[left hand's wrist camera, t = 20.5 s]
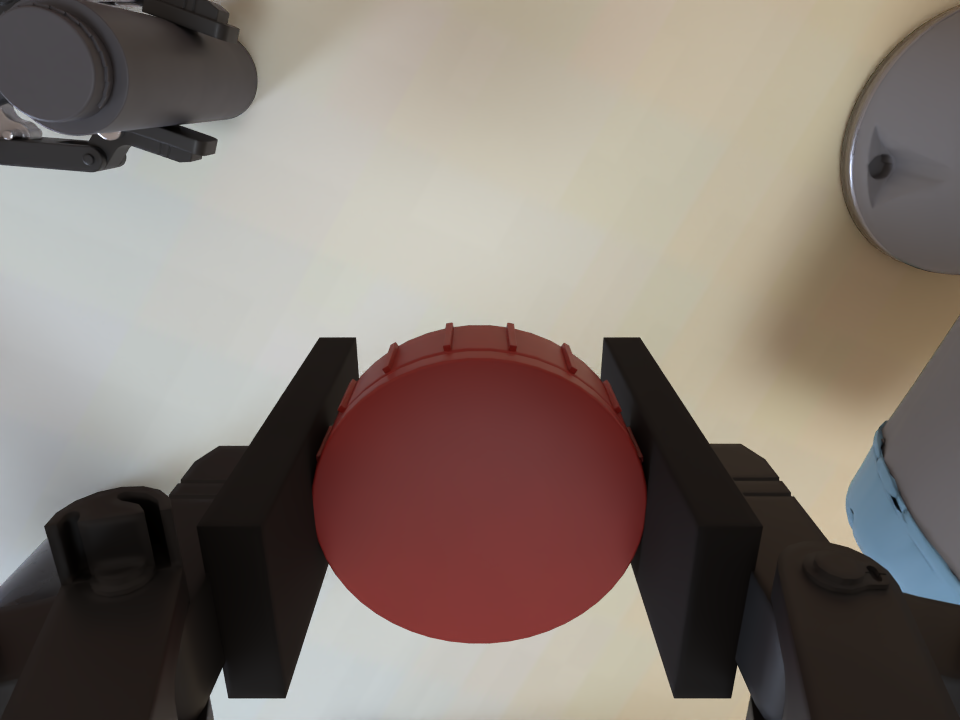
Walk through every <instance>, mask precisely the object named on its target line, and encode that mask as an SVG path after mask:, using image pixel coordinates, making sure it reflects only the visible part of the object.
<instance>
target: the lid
mask: <svg viewBox="0 0 960 720" xmlns="http://www.w3.org/2000/svg"><path fill="white" fill-rule="evenodd" d="M338 411H339V413H338V415H337V417H336V420H335V422H334V424H333V426H329V428H328V431H327V433H326V435H325V437H324V439H323V442H322V444H321V446H320V448H319V451H318V453H317V455H316V459H317V465H316V469H315V474H314V479H313V484H312V497H313V507H314V517H315V526H316V534H317V538H318V542H319V544H320V546H321V549H322V551H323V553H324V556H325V558H326V560H327V561H328V563H329V565H330V566H331V568H332V570H333V571H334V573H335V574H336V576H337V577H338V578H339V579H340V581H341V582H342V583H343V584H344V586H345V587H346V588H347V589H348V590H349V591H350V592H351V593H352V594H353V595H354V596H355V597H356V598H357V599H358V600H359V601H360V602H361V603H363V604H364V605H365V606H367V607H368V608H370V609H371V610H372V611H374V612H375V613H376V614H378V615H380V616H381V617H383V618H385V619H386V620H388V621H390V622H392V623H393V624H396V625H398V626H400V627H402V628H405V629H407V630H409V631H412V632H415V633H418V634H421V635H424V636H427V637H431V638H436V639H441V640H445V641H451V642H461V643H498V642H508V641H514V640H518V639H523V638H528V637H531V636H535V635H538V634H541V633H544V632H547V631H550V630H552V629H554V628H556V627H559V626H561V625H563V624H565V623H567V622H569V621H571V620H572V619H574V618H576V617H578V616H579V615H581V614H583V613H584V612H585V611H587V610H588V609H589V608H591V607H592V606H593V605H595V604H596V603H597V602H599V601H600V600H601V599H602V598H603V597H604V596H605V595H606V594H607V593H608V592H609V591H610V590H611V589H612V588H613V587H614V585H615V584H616V583H617V582H618V580H619V579H620V578H621V577H622V576H623V574H624V573H625V571H626V569H627V568H628V566H629V564H630V563H631V561H632V559H633V558H634V555H635V553H636V551H637V548H638V546H639V544H640V541H641V538H642V534H643V529H644V521H645V512H646V502H647V485H646V480H645V475H644V470H643V466H642V463H643V455H642V453H641V451H640V449H639V446H638V444H637V442H636V440H635V437H634V435H633V433H632V431H631V428H630V427H626V424H625V422H624V420H623V418H622V415H621V413H620V412H622V410H621V407H620V405H619V403H618V401H617V398H616V396H615V394H614V392H613V389H612V387H611V385H610V383H609V382H608V380H605V381H604V382H602V381H601V380H600V378H599V377H598V376H597V375H596V374H595V373H594V372H593V371H592V370H591V369H590V368H589V367H588V366H587V365H586V364H585V363H584V362H583V361H581V360H580V359H579V358H577V357H576V356H575V355H573V354H572V352H571V349H570V347H569V345H567V344H566V343H563V345H562V346H559V345H557V344H555V343H554V342H552V341H550V340H547V339H545V338H542V337H540V336H537V335H535V334H532V333H529V332H525V331H521V330H517V329H514V324H512V323H507V327H499V326H491V325H468V326H460V327H453V323H447V324H446V329H442V330H438V331H434V332H430V333H427V334H424V335H422V336H419V337H417V338H414V339H412V340H409V341H407V342H405V343H404V344H402V345H400V346H398V345H397V343H396V342H395V343H393V344H392V345H390V348H389V351H388V353H387V354H386V355H384V356H383V357H382V358H380V359H379V360H378V361H376V362H375V363H374V364H373V365H372V366H371V367H370V368H369V369H368V370H367V371H366V372H365V373H364V374H363V375H362V376H361V377H360V378H359V380H358V381H355V380H354V379H352V380H351V382H350V383H349V385H348V387H347V390H346V392H345V394H344V396H343V399H342V401H341V403H340V405H339V407H338Z"/></svg>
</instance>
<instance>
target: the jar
mask: <svg viewBox="0 0 960 720" xmlns="http://www.w3.org/2000/svg"><path fill="white" fill-rule="evenodd" d="M256 89H257V73H256V69H255V65H254V63H253V60H252V58H251V56H250V55H249V53H248V52H247V50H246V49H245V48H244V47H243V45H242V44H241V43H239V42H238V41H237V44H235V43H230V42H226V41H222V40H219V39H216V38H213V37H211V36H208V35H205V34H203V33H200V32H197V31H194V30H192V29H189V28H186V27H183V26H181V25H178V24H175V23H172V22H170V21H167V20H165V19H162V18H159V17H155V16H150V15H146V14H142V13H138V12H133V11H129V10H125V9H120V8H116V7H112V6H107V5H103V4H99V3H94V2H90V1H86V0H20V1H19V2H17V3H16V4H15V5H13V6H12V7H11V8H10V9H9V10H7V11H4V12H3V13H2V14H1V15H0V92H1V94H2V95H3V96H4V97H5V98H6V100H7V101H8V102H9V103H11V104H12V105H13V106H14V107H15V108H17V109H18V110H19V111H21V112H22V113H24V114H26V115H28V116H29V117H30V118H31V119H33V120H34V121H35V122H37V123H38V124H40V125H42V126H43V127H45V128H48V129H50V130H52V131H55V132H58V133H61V134H66V135H73V136H82V135H92V134H101V133H110V132H119V131H128V130H137V129H146V128H155V127H163V126H172V125H181V124H190V123H199V122H208V121H217V120H226V119H231V118H234V117H237V116H238V115H240V114H242V113H243V112H244V111H245V110H246V109H247V108H248V107H249V106H250V104H251V103H252V101H253V99H254V97H255V94H256Z"/></svg>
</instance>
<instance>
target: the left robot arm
mask: <svg viewBox="0 0 960 720" xmlns="http://www.w3.org/2000/svg"><path fill="white" fill-rule="evenodd" d="M841 182H842V189H843V194H844V198H845V202H846V205H847V207H848V210H849V213H850V215H851V217H852V219H853V221H854V223H855V224H856V226H857V227H858V229H859V230H860V232H861V233H862V234H863V235H864V236H865V238H866V239H867V240H868V241H869V242H870V243H871V244H872V245H874V246H875V247H876V248H877V249H879V250H880V251H881V252H883V253H884V254H886V255H888V256H890V257H891V258H893V259H896V260H898V261H900V262H903V263H905V264H908V265H910V266H913V267H915V268H918V269H922V270H925V271H930V272H936V273H943V274H951V275H960V5H959V6H957V7H954V8H952V9H950V10H948V11H946V12H943V13H941V14H940V15H938V16H936V17H934V18H933V19H931V20H929V21H928V22H926V23H925V24H923V25H922V26H920V27H919V28H917V29H916V30H915V31H914V32H912V33H911V34H910V35H909V36H907V37H906V38H905V39H904V40H903V41H902V42H901V43H899V44H898V45H897V46H896V47H895V48H894V49H893V50H892V51H891V52H890V53H889V55H888V56H887V57H886V58H885V59H884V60H883V61H882V63H881V64H880V65H879V66H878V68H877V69H876V70H875V72H874V73H873V74H872V76H871V77H870V79H869V80H868V82H867V84H866V85H865V87H864V89H863V90H862V92H861V94H860V96H859V98H858V100H857V102H856V104H855V106H854V109H853V111H852V113H851V116H850V119H849V122H848V125H847V128H846V132H845V136H844V140H843V146H842V153H841ZM352 379H354V380H355V381H358V380H359V373H358V359H357V345H356V338H319V339H318V341H317V342H316V344H315V345H314V347H313V348H312V350H311V352H310V353H309V355H308V356H307V358H306V359H305V361H304V362H303V364H302V365H301V367H300V368H299V370H298V371H297V373H296V375H295V376H294V378H293V379H292V381H291V382H290V384H289V385H288V387H287V388H286V390H285V391H284V393H283V394H282V396H281V397H280V399H279V401H278V402H277V404H276V405H275V407H274V408H273V410H272V411H271V413H270V414H269V416H268V417H267V419H266V420H265V422H264V424H263V425H262V427H261V428H260V430H259V431H258V433H257V434H256V436H255V437H254V439H253V440H252V442H251V443H250V445H249V446H218V447H217V448H215V449H214V450H212V451H211V452H209V453H207V454H206V455H204V456H203V457H201V458H200V459H198V460H197V461H195V462H194V463H193V465H192V466H191V467H190V469H189V470H188V471H187V472H186V474H185V475H184V476H183V478H182V479H181V483H178V484H177V485H176V487H175V488H174V489H173V491H172V492H171V493H170V494H169V497H168V496H167V495H166V494H164V493H163V492H162V491H161V490H158V489H153V488H149V487H144V486H137V487H119V488H115V489H110V490H106V491H101V492H97V493H95V494H92V495H89V496H87V497H84V498H82V499H79V500H77V501H75V502H73V503H71V504H70V505H68V506H67V507H65V508H63V509H62V510H60V511H59V512H57V513H56V514H55V515H54V516H53V517H52V518H51V519H50V521H49V522H48V523H47V524H46V525H45V526H44V527H45V531H46V534H47V538H48V541H49V545H50V548H51V552H52V555H53V559H54V562H55V566H56V569H57V573H58V576H59V580H60V583H61V587H60V589H59V592H58V594H57V595H56V596H52V597H48V598H45V599H41V600H36V601H31V602H26V603H22V604H17V605H12V606H7V607H2V608H0V720H214V718H213V711H212V706H211V701H210V694H211V692H212V690H213V687H214V685H215V683H216V681H217V679H218V676H219V674H220V672H221V670H222V667H223V672H224V677H225V683H226V688H227V693H228V698H286V695H287V692H288V689H289V686H290V683H291V680H292V676H293V673H294V670H295V667H296V664H297V661H298V658H299V655H300V651H301V648H302V645H303V642H304V639H305V636H306V633H307V630H308V626H309V623H310V620H311V617H312V614H313V611H314V608H315V605H316V601H317V598H318V595H319V592H320V589H321V586H322V583H323V580H324V577H325V573H326V570H327V567H328V564H329V563H328V561H327V560H326V558H325V556H324V553H323V551H322V549H321V546H320V544H319V542H318V538H317V534H316V526H315V517H314V507H313V497H312V484H313V479H314V474H315V469H316V465H317V459H316V455H317V453H318V451H319V448H320V446H321V444H322V442H323V439H324V437H325V435H326V433H327V431H328V428H329V426H333V424H334V422H335V420H336V417H337V415H338V413H339V411H338V407H339V405H340V403H341V401H342V399H343V396H344V394H345V392H346V390H347V387H348V385H349V383H350V382H351V380H352ZM605 380H608V382H609V383H610V385H611V387H612V389H613V392H614V394H615V396H616V398H617V401H618V403H619V405H620V407H621V410H622V412H620V413H621V415H622V418H623V420H624V422H625V424H626V427H630V428H631V431H632V433H633V435H634V437H635V440H636V442H637V444H638V446H639V449H640V451H641V453H642V455H643V463H642V466H643V470H644V475H645V480H646V485H647V502H646V512H645V521H644V529H643V534H642V538H641V541H640V544H639V546H638V548H637V551H636V553H635V555H634V558H633V559H632V561H631V565H632V568H633V572H634V575H635V578H636V581H637V584H638V587H639V590H640V593H641V597H642V600H643V603H644V606H645V609H646V612H647V615H648V618H649V621H650V625H651V628H652V631H653V634H654V637H655V640H656V643H657V646H658V650H659V653H660V656H661V659H662V662H663V665H664V668H665V671H666V675H667V678H668V681H669V684H670V687H671V690H672V693H673V696H674V698H731V696H732V691H733V686H734V680H735V675H736V670H737V665H738V667H739V669H740V672H741V674H742V676H743V678H744V680H745V683H746V685H747V687H748V689H749V692H750V694H751V696H750V701H749V706H748V711H747V716H746V720H960V316H959V317H958V319H957V320H956V322H955V323H954V325H953V326H952V328H951V329H950V331H949V332H948V334H947V335H946V337H945V338H944V340H943V341H942V343H941V344H940V346H939V347H938V349H937V350H936V352H935V353H934V355H933V356H932V358H931V359H930V361H929V362H928V364H927V365H926V366H925V368H924V369H923V371H922V372H921V374H920V375H919V377H918V378H917V380H916V381H915V383H914V384H913V386H912V387H911V389H910V390H909V392H908V393H907V394H906V396H905V397H904V399H903V400H902V402H901V403H900V404H899V406H898V407H897V409H896V410H895V412H894V413H893V414H892V416H891V417H890V419H889V420H888V421H885V422H884V423H883V424H882V425H881V426H880V427H879V429H878V430H877V431H876V433H875V436H874V441H873V446H872V447H871V449H870V451H869V453H868V455H867V456H866V458H865V460H864V462H863V463H862V465H861V467H860V468H859V470H858V472H857V473H856V475H855V477H854V478H853V480H852V482H851V484H850V486H849V488H848V492H847V496H846V512H847V516H848V521H849V524H850V526H851V528H852V530H853V535H854V538H855V540H856V542H857V544H858V546H859V548H860V549H861V551H862V553H863V554H862V553H860V552H857V551H855V550H853V549H851V548H849V547H845V546H841V545H837V544H833V543H830V542H829V541H828V540H827V538H826V537H825V536H824V535H823V533H822V532H821V531H820V529H819V528H818V527H817V526H816V524H815V523H814V522H813V520H812V519H811V518H810V517H809V515H808V514H807V513H806V511H805V510H804V509H803V507H802V506H801V505H800V504H799V502H798V501H797V500H796V498H795V497H794V496H791V492H790V491H789V489H788V488H787V487H786V486H785V484H784V483H783V482H782V481H779V477H778V475H777V474H776V473H775V471H774V470H773V469H772V468H771V466H770V465H769V464H768V462H767V461H766V460H765V459H764V458H762V457H761V456H759V455H757V454H756V453H754V452H753V451H751V450H750V449H748V448H747V447H745V446H743V445H742V444H709V443H708V441H707V440H706V438H705V436H704V435H703V433H702V432H701V430H700V429H699V427H698V426H697V424H696V423H695V421H694V420H693V418H692V417H691V415H690V413H689V412H688V410H687V409H686V407H685V406H684V404H683V403H682V401H681V400H680V398H679V397H678V395H677V394H676V392H675V391H674V389H673V387H672V386H671V384H670V383H669V381H668V380H667V378H666V377H665V375H664V374H663V372H662V371H661V369H660V368H659V366H658V364H657V363H656V361H655V360H654V358H653V357H652V355H651V354H650V352H649V351H648V349H647V348H646V346H645V345H644V343H643V341H642V340H641V338H604V339H603V353H602V367H601V381H602V382H604V381H605Z"/></svg>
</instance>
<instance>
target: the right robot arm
mask: <svg viewBox="0 0 960 720" xmlns="http://www.w3.org/2000/svg"><path fill="white" fill-rule="evenodd" d="M19 1H20V0H0V15H1V14H2V13H3V12H4V11H7V10H9V9H10V8H11V7H12V6H13V5H15V4H16V3H17V2H19ZM86 1H90V2H94V3H99V4H103V5H107V6H112V7H116V8H118V7H142V12H145V13H148V14H151V15H153V16H156V17H159V18H162V19H165V20H167V21H170V22H172V23H175V24H178V25H181V26H183V27H186V28H189V29H192V30H194V31H197V32H200V33H203V34H205V35H208V36H211V37H213V38H216V39H219V40H222V41H226V42H230V43H235V44H237V40H238V34H239V28H236V27H234V26H231V25H228V24H227V23H228V18H229V13H228V12H227V11H226V10H225V9H224V8H223V7H222V6H220V5H219V4H216V3H213V2H211V1H208V0H86ZM41 136H42V131H41V130H40V129H39V128H38V127H37V126H36V125H35V124H34V123H32V122H30V121H26V120H23V119H21V118H20V117H19V116H18V115H17V114H16V112H15V111H14V108H13V105H12V104H11V103H9V102H8V101H7V100H6V98H5V97H4V96H3V95H2V94H1V92H0V165H9V166H21V167H33V168H46V169H58V170H71V171H83V172H96V171H101V170H106V169H111V168H115V167H120V166H122V165H123V164H124V163H125V161H126V153H127V151H128V149H129V148H130V147H131V146H134V147H137V148H140V149H142V150H145V151H148V152H151V153H154V154H157V155H161V156H163V157H166V158H169V159H172V160H175V161H178V162H192V161H196V160H200V159H202V156H207V155H211V154H215V151H216V146H217V141H218V140H217V139H216V138H214V137H211V136H208V135H206V134H203V133H200V132H197V131H194V130H191V129H188V128H186V127H183V126H180V125H172V126H163V127H155V128H146V129H137V130H128V131H119V132H110V133H101V134H93V135H92V137H91V138H90V140H89V141H84V140H72V139H60V138H48V137H41ZM60 587H61V583H60V580H59V576H58V573H57V569H56V566H55V562H54V559H53V555H52V552H51V548H50V545H49V541H48V538H47V539H46V540H45V541H44V542H43V543H42V544H41V545H40V546H39V547H38V548H37V549H36V550H35V551H34V552H33V553H32V554H31V555H30V556H29V557H28V558H27V559H26V560H25V561H24V562H23V563H22V564H21V565H20V566H19V567H18V568H17V569H16V570H15V572H14V573H13V574H12V575H11V576H10V577H9V578H8V579H7V580H6V581H5V582H4V583H3V584H2V585H1V586H0V608H2V607H7V606H12V605H17V604H22V603H26V602H31V601H36V600H41V599H45V598H48V597H52V596H56V595H57V594H58V592H59V589H60Z"/></svg>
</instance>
